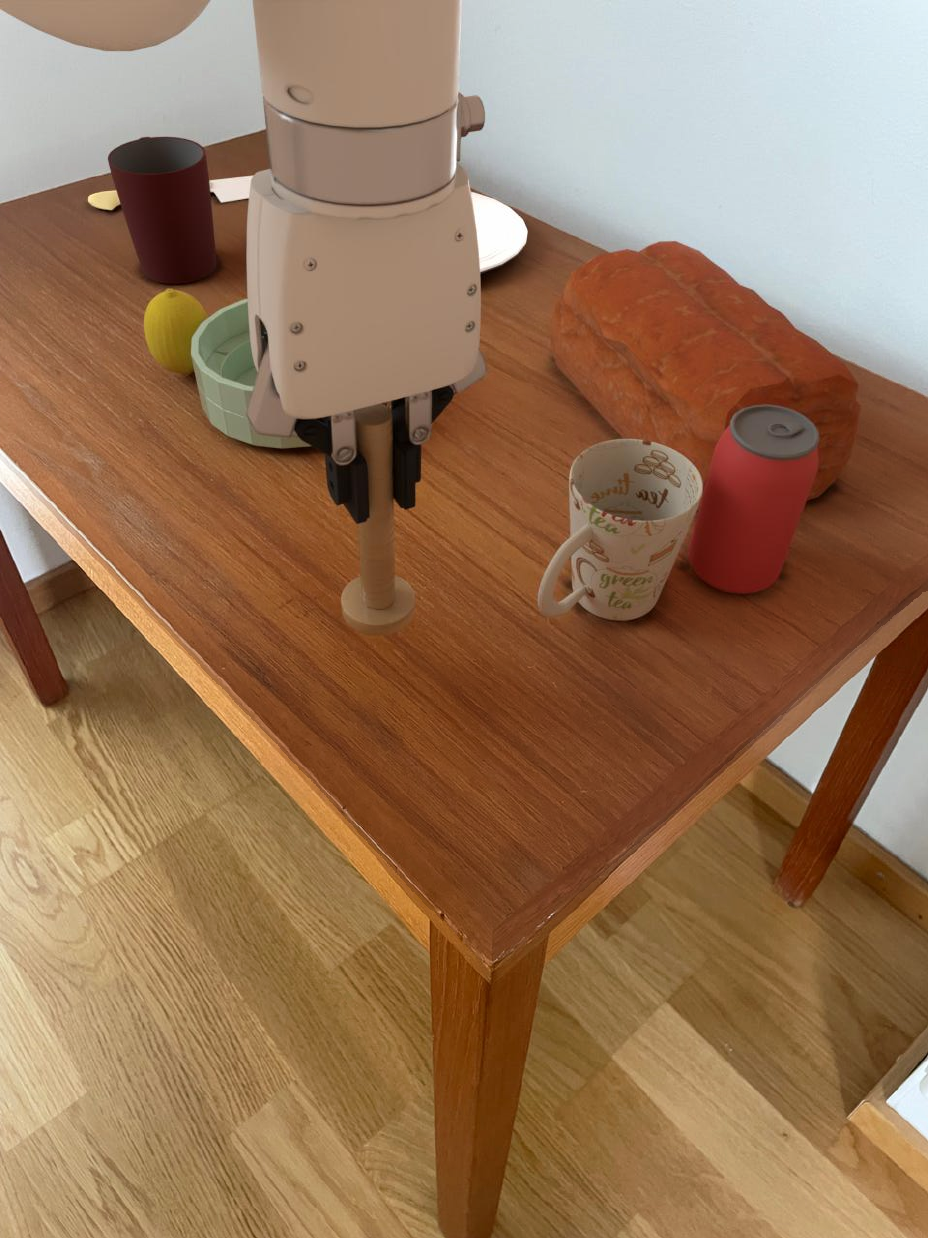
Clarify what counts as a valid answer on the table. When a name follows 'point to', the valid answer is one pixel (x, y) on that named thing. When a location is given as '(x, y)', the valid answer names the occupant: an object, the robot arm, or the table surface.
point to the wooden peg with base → (377, 537)
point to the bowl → (230, 375)
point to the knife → (221, 187)
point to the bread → (694, 356)
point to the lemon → (173, 329)
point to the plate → (497, 232)
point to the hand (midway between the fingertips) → (374, 498)
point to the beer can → (754, 498)
